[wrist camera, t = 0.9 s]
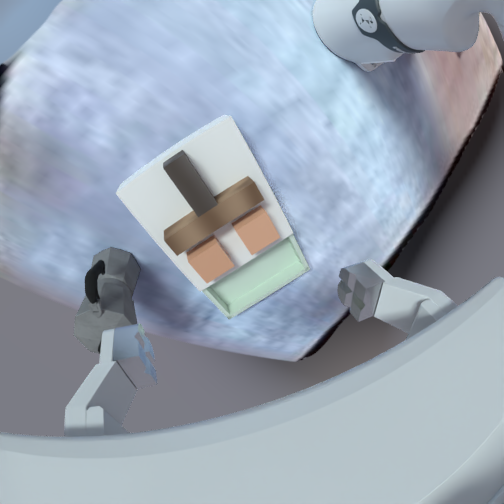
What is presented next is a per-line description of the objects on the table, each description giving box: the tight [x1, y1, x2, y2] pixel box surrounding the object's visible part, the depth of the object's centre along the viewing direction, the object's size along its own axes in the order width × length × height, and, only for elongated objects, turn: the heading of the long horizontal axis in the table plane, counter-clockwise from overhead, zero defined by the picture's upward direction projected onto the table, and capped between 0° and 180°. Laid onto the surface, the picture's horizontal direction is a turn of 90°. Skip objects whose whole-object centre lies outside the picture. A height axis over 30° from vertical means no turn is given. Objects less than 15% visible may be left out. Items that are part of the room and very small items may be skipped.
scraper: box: [163, 150, 264, 256], centre depth 34 cm, size 14×11×3 cm
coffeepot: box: [74, 247, 141, 354], centre depth 35 cm, size 15×9×18 cm, turn 174°
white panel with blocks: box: [116, 115, 293, 292], centre depth 40 cm, size 18×21×4 cm
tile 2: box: [186, 235, 234, 283], centre depth 41 cm, size 5×5×2 cm
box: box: [202, 234, 310, 319], centre depth 50 cm, size 18×10×4 cm, turn 118°
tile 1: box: [231, 205, 280, 255], centre depth 40 cm, size 5×5×2 cm
